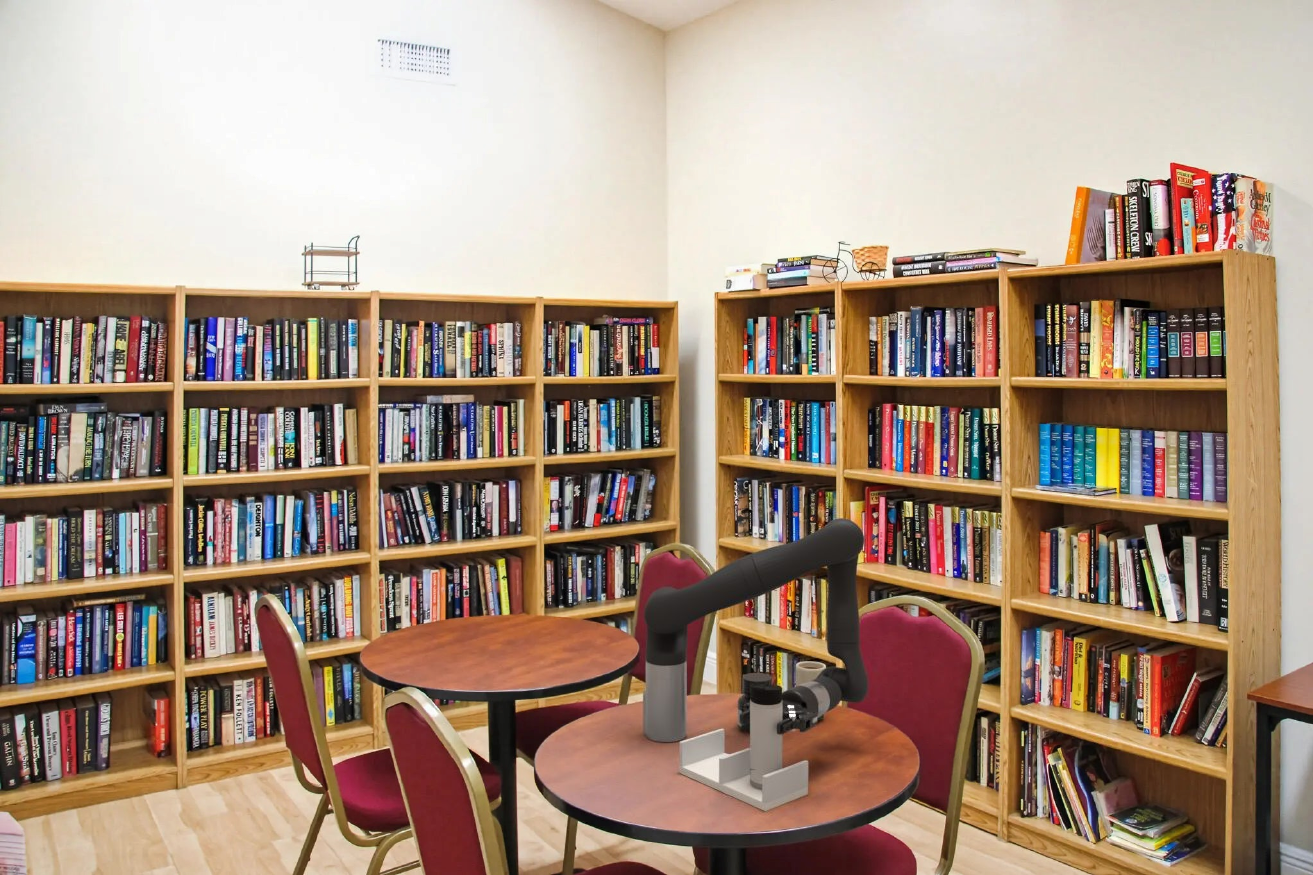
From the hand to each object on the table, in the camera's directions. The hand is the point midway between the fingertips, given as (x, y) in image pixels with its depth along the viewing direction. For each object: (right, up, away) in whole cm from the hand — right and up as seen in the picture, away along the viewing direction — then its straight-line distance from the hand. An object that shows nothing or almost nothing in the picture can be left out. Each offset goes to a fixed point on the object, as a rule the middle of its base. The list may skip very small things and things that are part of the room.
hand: (759, 724), depth 196 cm
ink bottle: (+3, -12, +38) cm, 40 cm away
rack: (-3, -14, +7) cm, 15 cm away
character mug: (+16, -12, +44) cm, 48 cm away
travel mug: (+1, -13, +2) cm, 13 cm away
